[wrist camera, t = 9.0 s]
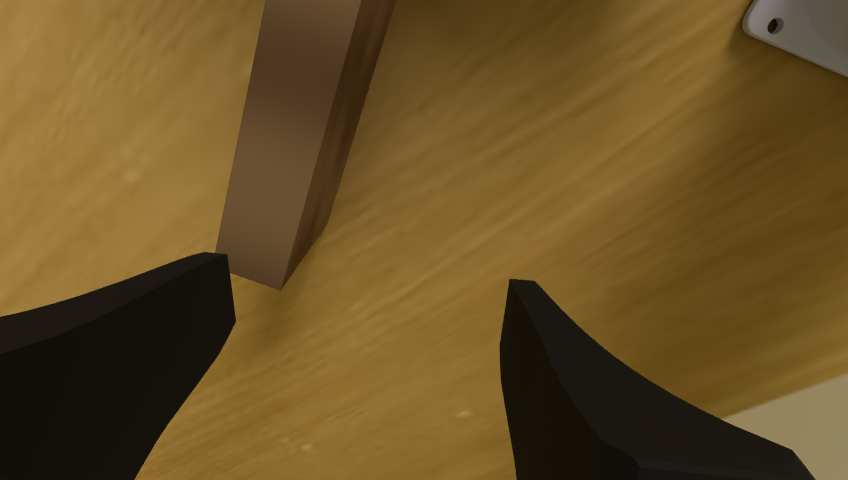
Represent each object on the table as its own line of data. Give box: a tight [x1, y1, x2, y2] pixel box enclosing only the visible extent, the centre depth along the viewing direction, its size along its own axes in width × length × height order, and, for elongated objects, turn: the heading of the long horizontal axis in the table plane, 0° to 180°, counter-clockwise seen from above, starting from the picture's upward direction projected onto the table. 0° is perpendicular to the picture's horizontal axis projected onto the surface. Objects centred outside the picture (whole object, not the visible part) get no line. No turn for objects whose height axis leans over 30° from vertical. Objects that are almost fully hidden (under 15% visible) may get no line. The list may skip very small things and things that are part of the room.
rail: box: [215, 0, 395, 291], centre depth 15 cm, size 17×3×6 cm, turn 160°
